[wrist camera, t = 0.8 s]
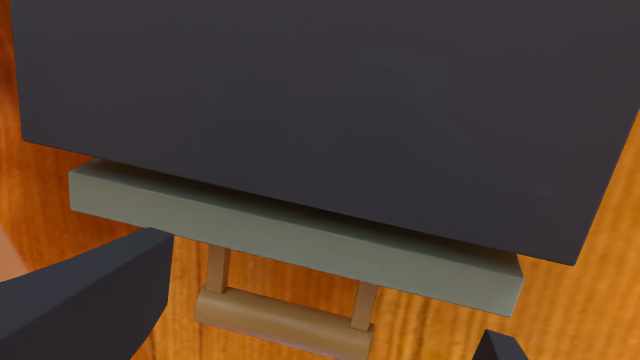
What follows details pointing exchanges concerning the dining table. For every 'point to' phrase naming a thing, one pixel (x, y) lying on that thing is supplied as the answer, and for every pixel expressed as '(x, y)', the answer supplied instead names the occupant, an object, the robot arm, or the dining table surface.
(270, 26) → the cabinet
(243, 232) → the drawer
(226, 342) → the dining table surface
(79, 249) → the dining table surface
